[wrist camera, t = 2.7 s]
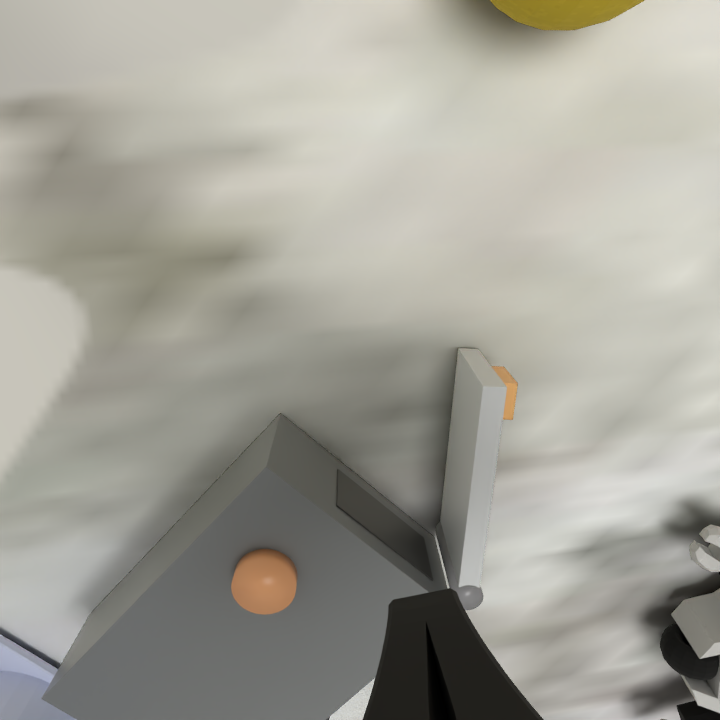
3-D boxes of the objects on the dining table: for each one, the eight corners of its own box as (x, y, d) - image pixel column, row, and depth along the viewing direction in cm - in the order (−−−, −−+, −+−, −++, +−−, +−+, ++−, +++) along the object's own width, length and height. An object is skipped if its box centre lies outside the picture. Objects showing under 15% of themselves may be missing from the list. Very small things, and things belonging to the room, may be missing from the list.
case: (258, 721, 26) (241, 834, 21) (90, 613, 23) (32, 714, 19) (451, 549, 23) (476, 638, 19) (281, 412, 21) (264, 475, 17)
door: (434, 539, 23) (451, 609, 19) (453, 348, 20) (478, 386, 17) (470, 540, 23) (494, 610, 19) (494, 349, 20) (527, 388, 17)
